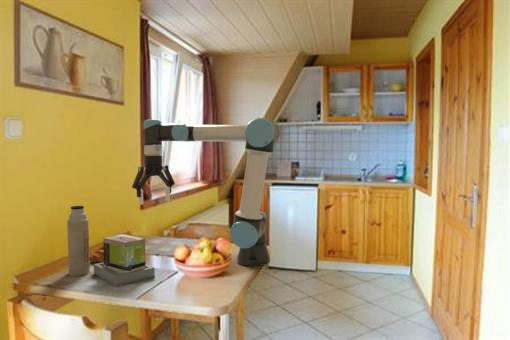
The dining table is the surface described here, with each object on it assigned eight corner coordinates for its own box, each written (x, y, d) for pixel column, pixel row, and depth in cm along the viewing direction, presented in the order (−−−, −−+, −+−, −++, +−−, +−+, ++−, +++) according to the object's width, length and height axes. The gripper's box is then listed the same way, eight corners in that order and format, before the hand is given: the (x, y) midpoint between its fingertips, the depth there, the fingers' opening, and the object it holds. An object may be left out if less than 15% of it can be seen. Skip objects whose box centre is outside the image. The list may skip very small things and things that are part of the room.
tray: (154, 277, 159) (154, 267, 159) (116, 287, 148) (116, 276, 148) (130, 265, 175) (130, 256, 174) (94, 273, 164) (93, 264, 163)
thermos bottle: (93, 270, 168) (92, 205, 166) (81, 276, 160) (80, 208, 158) (76, 269, 169) (75, 204, 168) (64, 275, 162) (62, 207, 160)
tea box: (146, 273, 161) (146, 237, 160) (125, 280, 153) (125, 242, 152) (124, 266, 170) (123, 232, 169) (103, 273, 162) (102, 237, 161)
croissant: (126, 259, 195) (122, 244, 197) (137, 253, 190) (132, 237, 192) (85, 269, 179) (81, 252, 181) (95, 262, 173) (91, 245, 175)
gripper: (131, 155, 163) (133, 206, 164) (181, 154, 181) (182, 200, 182) (122, 155, 168) (124, 205, 170) (172, 154, 186) (173, 198, 187)
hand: (154, 202), depth 176 cm, fingers open, 13 cm apart
